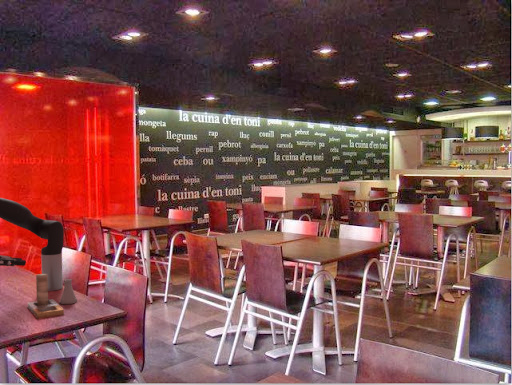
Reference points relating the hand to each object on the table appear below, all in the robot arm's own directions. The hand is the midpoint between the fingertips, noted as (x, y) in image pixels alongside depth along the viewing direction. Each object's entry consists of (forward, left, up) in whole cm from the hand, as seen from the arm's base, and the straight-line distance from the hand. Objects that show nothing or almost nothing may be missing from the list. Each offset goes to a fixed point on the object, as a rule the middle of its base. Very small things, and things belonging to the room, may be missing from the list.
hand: (23, 261), depth 205 cm
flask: (-3, +18, -21) cm, 28 cm away
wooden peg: (-1, +7, -20) cm, 22 cm away
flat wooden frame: (+4, +7, -20) cm, 22 cm away
